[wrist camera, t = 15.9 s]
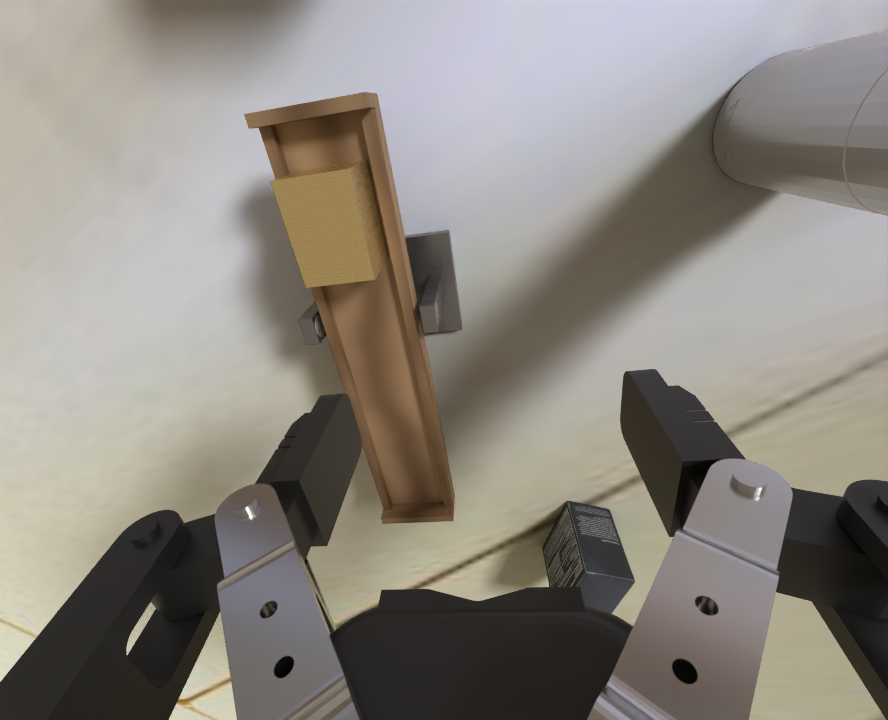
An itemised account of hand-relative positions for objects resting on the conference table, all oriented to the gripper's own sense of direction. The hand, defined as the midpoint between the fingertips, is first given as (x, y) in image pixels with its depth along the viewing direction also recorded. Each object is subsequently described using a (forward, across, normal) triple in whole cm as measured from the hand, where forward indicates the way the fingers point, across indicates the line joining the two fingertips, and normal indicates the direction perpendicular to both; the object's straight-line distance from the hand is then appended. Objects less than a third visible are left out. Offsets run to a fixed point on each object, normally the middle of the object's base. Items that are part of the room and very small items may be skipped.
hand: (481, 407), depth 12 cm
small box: (+30, -9, +44) cm, 54 cm away
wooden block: (+19, +10, -6) cm, 22 cm away
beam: (+24, +10, +10) cm, 28 cm away
